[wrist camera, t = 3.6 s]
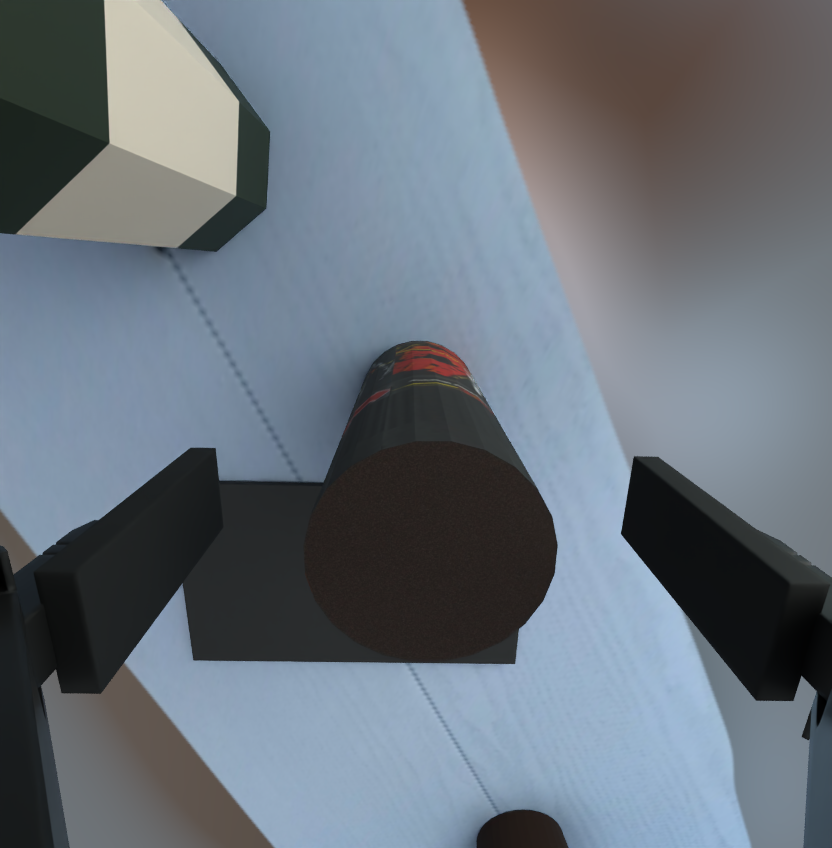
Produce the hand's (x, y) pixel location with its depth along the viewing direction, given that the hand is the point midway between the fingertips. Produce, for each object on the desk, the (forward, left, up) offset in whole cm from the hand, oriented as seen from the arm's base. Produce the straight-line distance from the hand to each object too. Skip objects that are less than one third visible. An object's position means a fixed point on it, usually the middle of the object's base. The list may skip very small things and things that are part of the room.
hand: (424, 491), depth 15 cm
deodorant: (0, 0, -11) cm, 11 cm away
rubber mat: (+11, -4, -11) cm, 16 cm away
